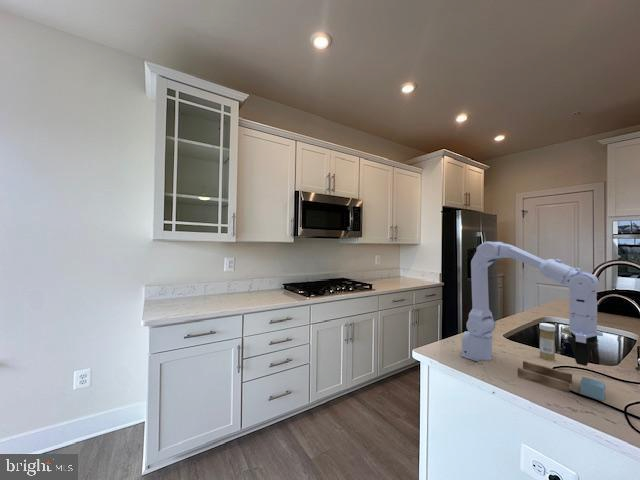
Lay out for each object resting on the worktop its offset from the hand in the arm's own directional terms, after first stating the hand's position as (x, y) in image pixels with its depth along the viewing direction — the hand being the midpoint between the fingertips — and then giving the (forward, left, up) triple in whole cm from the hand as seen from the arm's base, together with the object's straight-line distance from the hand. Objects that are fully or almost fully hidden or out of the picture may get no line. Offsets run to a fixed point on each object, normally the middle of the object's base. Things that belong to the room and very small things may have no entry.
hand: (582, 361), depth 78 cm
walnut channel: (-8, 0, -9) cm, 13 cm away
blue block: (0, 0, -7) cm, 7 cm away
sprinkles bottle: (-10, +21, -10) cm, 25 cm away
